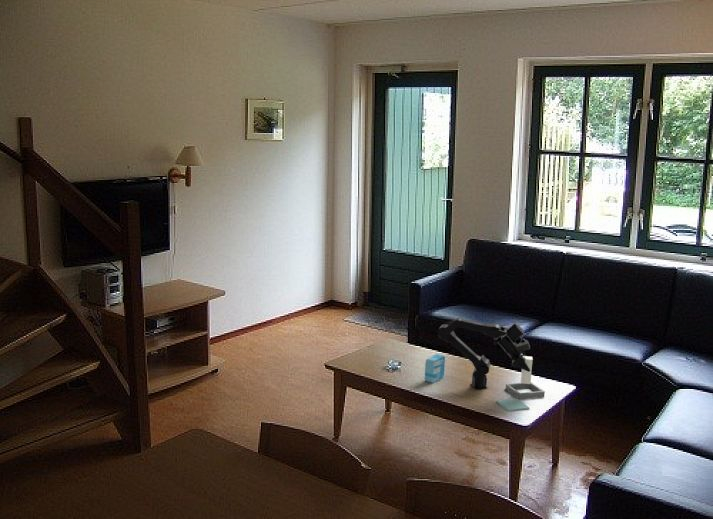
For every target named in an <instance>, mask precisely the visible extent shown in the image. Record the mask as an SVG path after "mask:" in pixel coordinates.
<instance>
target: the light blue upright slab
mask: <svg viewBox="0 0 713 519" xmlns="http://www.w3.org/2000/svg"><path fill="white" fill-rule="evenodd" d="M445 364H446V357H445V355H441V354H434V355H431V356H430V357H428V358H426V360H425V365H424V381H425V382H428V383H431V384H434V383H437V381H440V380H441V379H443V378H444V377H445V366H446V365H445Z"/></svg>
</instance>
